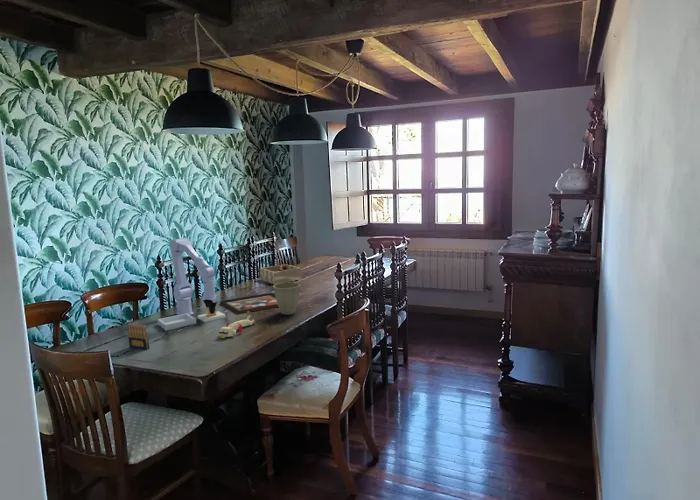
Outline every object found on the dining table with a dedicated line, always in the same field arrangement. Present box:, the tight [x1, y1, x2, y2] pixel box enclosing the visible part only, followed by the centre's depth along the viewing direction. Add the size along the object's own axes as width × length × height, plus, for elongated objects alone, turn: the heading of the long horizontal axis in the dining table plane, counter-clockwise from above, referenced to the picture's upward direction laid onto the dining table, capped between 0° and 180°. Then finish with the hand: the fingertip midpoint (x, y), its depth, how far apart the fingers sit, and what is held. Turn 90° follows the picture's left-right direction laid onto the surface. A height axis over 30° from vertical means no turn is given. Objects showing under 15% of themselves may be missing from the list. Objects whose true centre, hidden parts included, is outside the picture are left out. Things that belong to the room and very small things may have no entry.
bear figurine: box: [279, 263, 287, 271], centre depth 357 cm, size 14×15×12 cm
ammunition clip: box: [128, 321, 150, 351], centre depth 221 cm, size 11×2×12 cm, turn 67°
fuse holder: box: [197, 310, 226, 323], centre depth 265 cm, size 10×12×2 cm
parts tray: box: [157, 313, 197, 332], centre depth 257 cm, size 14×16×3 cm
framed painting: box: [219, 292, 279, 315], centre depth 292 cm, size 38×35×3 cm
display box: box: [259, 263, 302, 286], centre depth 359 cm, size 23×22×9 cm
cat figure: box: [218, 311, 256, 339], centre depth 241 cm, size 10×9×25 cm
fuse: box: [205, 306, 217, 317], centre depth 264 cm, size 3×4×6 cm, turn 127°
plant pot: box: [272, 282, 301, 315], centre depth 270 cm, size 15×15×16 cm
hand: (211, 312), depth 265 cm, fingers closed on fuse, 3 cm apart
